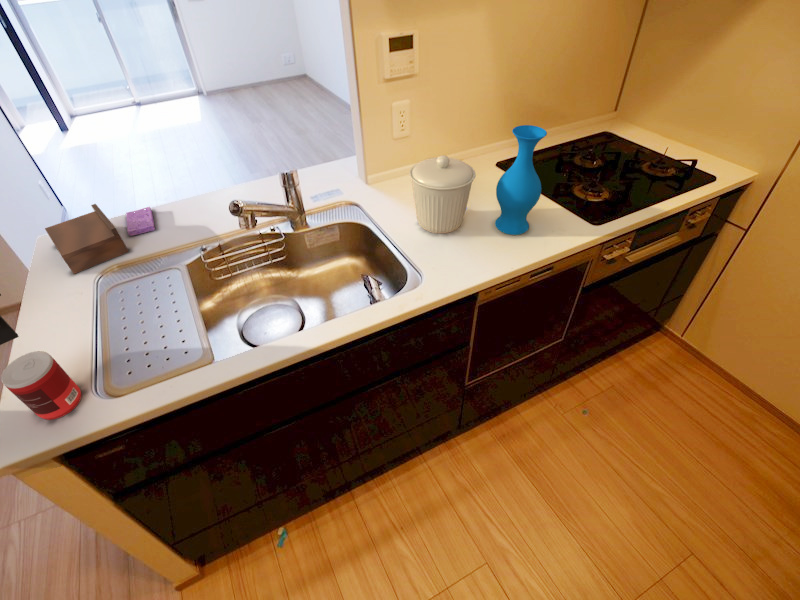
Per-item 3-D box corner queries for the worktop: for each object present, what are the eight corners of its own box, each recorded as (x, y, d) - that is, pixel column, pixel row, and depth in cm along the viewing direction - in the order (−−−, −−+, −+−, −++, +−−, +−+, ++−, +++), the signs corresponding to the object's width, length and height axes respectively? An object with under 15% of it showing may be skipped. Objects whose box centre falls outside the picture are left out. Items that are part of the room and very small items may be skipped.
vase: (491, 237, 122) (506, 140, 103) (490, 214, 131) (503, 121, 112) (534, 239, 120) (558, 142, 101) (530, 216, 130) (550, 122, 111)
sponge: (130, 236, 125) (127, 231, 124) (128, 217, 133) (125, 211, 132) (155, 230, 127) (153, 225, 126) (152, 211, 135) (149, 206, 134)
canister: (467, 208, 133) (474, 142, 119) (472, 241, 120) (481, 171, 106) (409, 208, 134) (409, 142, 120) (408, 241, 121) (408, 171, 107)
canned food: (78, 380, 87) (47, 344, 79) (87, 405, 82) (54, 370, 75) (34, 400, 83) (-3, 365, 76) (41, 428, 78) (2, 394, 71)
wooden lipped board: (74, 274, 112) (56, 249, 107) (56, 246, 122) (40, 222, 117) (129, 251, 119) (115, 227, 114) (108, 227, 129) (95, 203, 124)
